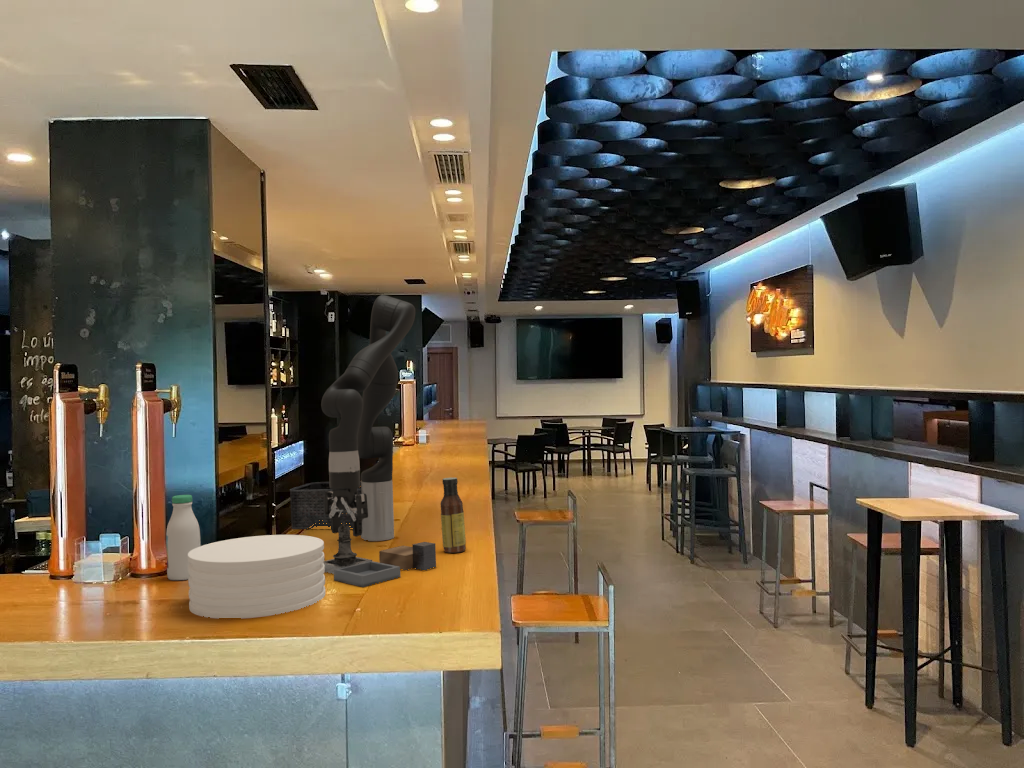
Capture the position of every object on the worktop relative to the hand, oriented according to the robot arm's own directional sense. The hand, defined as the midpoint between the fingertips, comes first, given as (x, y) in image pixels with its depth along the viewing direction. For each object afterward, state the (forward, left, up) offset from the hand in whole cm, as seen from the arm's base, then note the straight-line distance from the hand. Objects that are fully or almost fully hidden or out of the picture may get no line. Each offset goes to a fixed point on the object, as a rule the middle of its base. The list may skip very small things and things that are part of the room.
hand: (346, 534), depth 196 cm
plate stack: (+6, -28, -9) cm, 30 cm away
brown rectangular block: (+8, +11, -9) cm, 17 cm away
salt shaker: (-1, 0, -9) cm, 9 cm away
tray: (+12, -3, -9) cm, 15 cm away
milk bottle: (-28, -28, -9) cm, 41 cm away
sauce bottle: (+7, +30, -9) cm, 32 cm away
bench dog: (+15, +12, -9) cm, 21 cm away
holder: (-1, 0, -9) cm, 9 cm away
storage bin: (-55, +39, -9) cm, 68 cm away
